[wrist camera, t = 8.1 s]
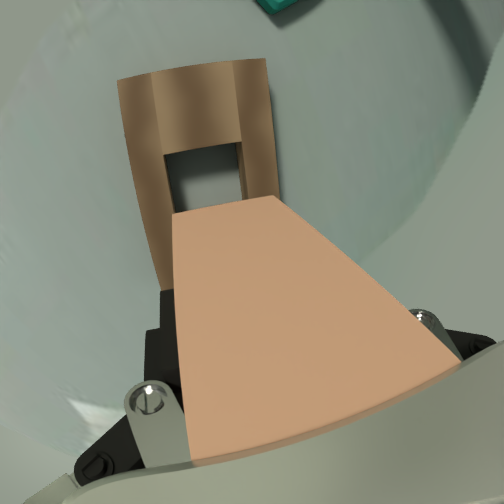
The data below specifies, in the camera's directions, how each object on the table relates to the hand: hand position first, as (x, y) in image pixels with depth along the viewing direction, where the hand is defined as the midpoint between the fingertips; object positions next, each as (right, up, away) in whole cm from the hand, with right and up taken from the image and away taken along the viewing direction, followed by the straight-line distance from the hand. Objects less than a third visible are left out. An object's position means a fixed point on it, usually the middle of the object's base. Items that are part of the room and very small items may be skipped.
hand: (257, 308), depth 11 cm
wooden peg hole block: (-5, +9, +20) cm, 22 cm away
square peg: (-1, +2, +5) cm, 5 cm away
